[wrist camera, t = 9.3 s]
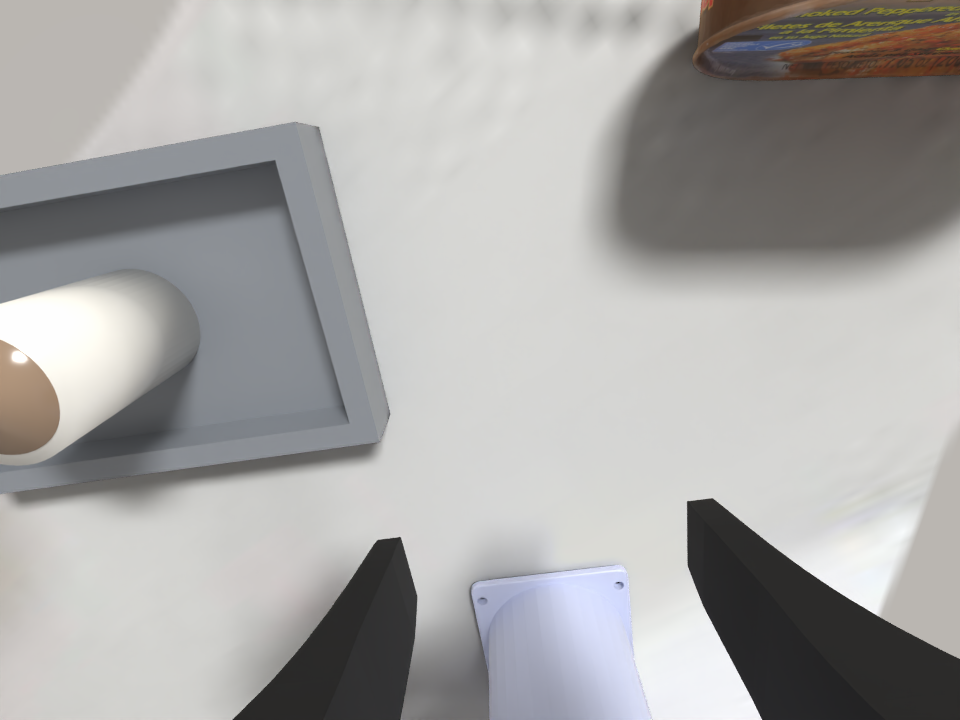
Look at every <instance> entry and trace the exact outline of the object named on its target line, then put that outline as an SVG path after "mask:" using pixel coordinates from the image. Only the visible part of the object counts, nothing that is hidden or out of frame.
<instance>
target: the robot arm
mask: <svg viewBox="0 0 960 720" xmlns="http://www.w3.org/2000/svg"><path fill="white" fill-rule="evenodd" d="M687 548H688V568H689V570H690V573H691V575H692V578H693V581H694V583H695V586H696V589H697V591H698V594H699V596H700V599H701V601H702V604H703V606H704V608H705V610H706V612H707V614H708V616H709V618H710V620H711V622H712V624H713V625H714V627H715V629H716V631H717V633H718V635H719V637H720V639H721V641H722V643H723V645H724V646H725V648H726V650H727V652H728V654H729V656H730V658H731V660H732V662H733V663H734V665H735V667H736V669H737V671H738V673H739V675H740V677H741V679H742V681H743V682H744V684H745V686H746V688H747V690H748V692H749V694H750V696H751V698H752V699H753V702H754V704H755V706H756V708H757V710H758V712H759V714H760V716H761V718H762V720H960V659H959V658H956V657H954V656H952V655H950V654H948V653H946V652H944V651H942V650H940V649H938V648H936V647H934V646H932V645H930V644H928V643H927V642H925V641H923V640H921V639H919V638H917V637H915V636H913V635H911V634H909V633H907V632H905V631H904V630H902V629H900V628H898V627H896V626H894V625H892V624H891V623H889V622H887V621H885V620H884V619H882V618H880V617H878V616H877V615H875V614H873V613H872V612H870V611H868V610H867V609H865V608H863V607H862V606H860V605H858V604H857V603H855V602H853V601H851V600H850V599H848V598H846V597H845V596H843V595H842V594H840V593H839V592H837V591H835V590H834V589H832V588H831V587H829V586H828V585H826V584H825V583H823V582H822V581H820V580H819V579H817V578H816V577H815V576H813V575H812V574H810V573H809V572H807V571H806V570H804V569H803V568H801V567H800V566H799V565H797V564H796V563H794V562H793V561H792V560H790V559H789V558H788V557H786V556H785V555H784V554H782V553H781V552H780V551H778V550H777V549H776V548H774V547H773V546H772V545H770V544H769V543H768V542H767V541H765V540H764V539H763V538H761V537H760V536H759V535H758V534H756V533H755V532H754V531H753V530H751V529H750V528H749V527H748V526H746V525H745V524H744V523H743V522H741V521H740V520H739V519H738V518H736V517H735V516H734V515H733V514H732V513H730V512H729V511H728V510H727V509H725V508H724V507H723V506H722V505H720V504H719V503H718V502H717V501H715V500H714V499H713V498H711V499H703V500H695V501H687ZM616 582H620V583H618V584H615V583H616ZM471 595H472V600H473V604H474V609H475V613H476V618H477V623H478V627H479V632H480V637H481V641H482V646H483V651H484V655H485V660H486V664H487V669H488V674H489V720H652V717H651V714H650V710H649V707H648V704H647V700H646V697H645V694H644V690H643V687H642V684H641V680H640V677H639V674H638V670H637V667H636V664H635V660H634V653H633V639H632V624H631V610H630V596H629V582H628V574H627V572H626V569H625V568H624V567H623V566H620V565H614V566H605V567H597V568H588V569H579V570H571V571H562V572H554V573H545V574H537V575H528V576H520V577H511V578H502V579H494V580H485V581H478V582H475V583H474V584H473V585H472V590H471ZM481 597H484V598H485V599H480V598H481ZM416 612H417V594H416V590H415V587H414V583H413V579H412V576H411V572H410V569H409V565H408V561H407V558H406V554H405V551H404V547H403V543H402V540H401V537H398V538H390V539H382V540H377V541H376V543H375V544H374V545H373V547H372V548H371V550H370V551H369V553H368V554H367V556H366V558H365V559H364V561H363V562H362V564H361V565H360V567H359V568H358V570H357V571H356V573H355V574H354V576H353V577H352V579H351V580H350V582H349V583H348V585H347V586H346V588H345V589H344V590H343V592H342V593H341V595H340V596H339V598H338V599H337V600H336V602H335V603H334V605H333V606H332V608H331V609H330V610H329V612H328V613H327V614H326V616H325V617H324V618H323V620H322V621H321V622H320V624H319V625H318V626H317V627H316V629H315V630H314V631H313V633H312V634H311V635H310V636H309V638H308V639H307V640H306V642H305V643H304V644H303V645H302V647H301V648H300V649H299V650H298V651H297V653H296V654H295V655H294V656H293V657H292V658H291V660H290V661H289V662H288V663H287V664H286V665H285V667H284V668H283V669H282V670H281V671H280V672H279V673H278V674H277V675H276V677H275V678H274V679H273V680H272V681H271V682H270V683H269V684H268V685H267V686H266V687H265V688H264V689H263V690H262V691H261V692H260V693H259V694H258V695H257V696H256V697H255V698H254V699H253V700H252V701H251V702H250V703H249V704H248V705H247V706H246V707H245V708H244V709H243V710H242V711H241V712H240V713H239V714H238V715H237V716H236V717H235V718H234V719H233V720H400V718H401V713H402V707H403V702H404V696H405V690H406V685H407V679H408V674H409V668H410V663H411V657H412V651H413V645H414V639H415V627H416Z"/></svg>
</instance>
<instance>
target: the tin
mask: <svg viewBox="0 0 960 720" xmlns="http://www.w3.org/2000/svg"><path fill="white" fill-rule="evenodd" d="M692 61H693V66H694V67H695V68H696V69H697V70H698V71H700V72H702V73H704V74H707V75H709V76H712V77H716V78H722V79H730V80H756V81H770V80H806V79H839V78H867V77H903V76H938V75H960V0H702V2H701V13H700V24H699V36H698V46H697V49H696V51H695V53H694V55H693V59H692Z"/></svg>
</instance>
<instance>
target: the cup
mask: <svg viewBox="0 0 960 720" xmlns="http://www.w3.org/2000/svg"><path fill="white" fill-rule="evenodd" d="M199 343H200V326H199V321H198V318H197V315H196V313H195V310H194V309H193V307H192V305H191V303H190V302H189V300H188V299H187V298H186V296H185V295H184V294H183V293H182V292H181V291H180V290H179V289H178V288H177V287H176V286H174V285H173V284H172V283H170V282H169V281H168V280H166V279H164V278H162V277H161V276H159V275H156V274H154V273H151V272H148V271H145V270H139V269H121V270H117V271H113V272H109V273H106V274H102V275H99V276H95V277H92V278H88V279H85V280H81V281H78V282H74V283H71V284H67V285H64V286H60V287H57V288H54V289H50V290H47V291H43V292H40V293H36V294H33V295H29V296H26V297H22V298H19V299H15V300H12V301H8V302H5V303H1V304H0V464H3V465H14V466H21V465H30V464H36V463H39V462H42V461H45V460H47V459H49V458H51V457H53V456H54V455H56V454H57V453H59V452H60V451H62V450H63V449H64V448H66V447H67V446H69V445H70V444H72V443H73V442H75V441H76V440H78V439H79V438H81V437H82V436H84V435H85V434H87V433H88V432H90V431H91V430H93V429H94V428H96V427H97V426H98V425H100V424H101V423H103V422H104V421H106V420H107V419H109V418H110V417H112V416H113V415H115V414H116V413H118V412H119V411H121V410H122V409H124V408H125V407H127V406H128V405H129V404H131V403H132V402H134V401H135V400H137V399H138V398H140V397H141V396H143V395H144V394H146V393H147V392H149V391H150V390H152V389H153V388H155V387H156V386H158V385H159V384H160V383H162V382H163V381H165V380H166V379H168V378H169V377H171V376H172V375H174V374H175V373H177V372H178V371H180V370H181V369H183V368H184V367H185V366H187V365H188V364H189V363H190V362H191V361H192V359H193V358H194V356H195V355H196V352H197V350H198V347H199Z"/></svg>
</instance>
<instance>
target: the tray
mask: <svg viewBox="0 0 960 720" xmlns="http://www.w3.org/2000/svg"><path fill="white" fill-rule="evenodd" d="M121 269H139V270H145V271H148V272H151V273H154V274H156V275H159V276H161V277H162V278H164V279H166V280H168V281H169V282H170V283H172V284H173V285H174V286H176V287H177V288H178V289H179V290H180V291H181V292H182V293H183V294H184V295H185V296H186V298H187V299H188V300H189V302H190V303H191V305H192V307H193V309H194V310H195V313H196V315H197V318H198V321H199V326H200V343H199V347H198V350H197V352H196V355H195V356H194V358H193V359H192V361H191V362H190V363H189V364H188V365H187V366H185V367H184V368H183V369H181V370H180V371H178V372H177V373H175V374H174V375H172V376H171V377H169V378H168V379H166V380H165V381H163V382H162V383H160V384H159V385H158V386H156V387H155V388H153V389H152V390H150V391H149V392H147V393H146V394H144V395H143V396H141V397H140V398H138V399H137V400H135V401H134V402H132V403H131V404H129V405H128V406H127V407H125V408H124V409H122V410H121V411H119V412H118V413H116V414H115V415H113V416H112V417H110V418H109V419H107V420H106V421H104V422H103V423H101V424H100V425H98V426H97V427H96V428H94V429H93V430H91V431H90V432H88V433H87V434H85V435H84V436H82V437H81V438H79V439H78V440H76V441H75V442H73V443H72V444H70V445H69V446H67V447H66V448H64V449H63V450H62V451H60V452H59V453H57V454H56V455H54V456H53V457H51V458H49V459H47V460H45V461H42V462H39V463H36V464H30V465H21V466H14V465H3V464H0V494H4V493H11V492H18V491H26V490H33V489H40V488H48V487H55V486H62V485H69V484H77V483H84V482H91V481H99V480H106V479H113V478H121V477H128V476H135V475H143V474H150V473H157V472H165V471H172V470H179V469H187V468H194V467H201V466H208V465H216V464H223V463H230V462H238V461H245V460H252V459H260V458H267V457H274V456H282V455H289V454H296V453H304V452H311V451H318V450H326V449H333V448H340V447H347V446H355V445H362V444H369V443H377V442H380V440H381V437H382V434H383V432H384V429H385V427H386V424H387V421H388V419H389V416H390V411H389V407H388V403H387V399H386V395H385V391H384V387H383V383H382V379H381V375H380V371H379V367H378V363H377V359H376V355H375V351H374V347H373V343H372V339H371V335H370V331H369V327H368V323H367V318H366V314H365V310H364V306H363V302H362V298H361V294H360V290H359V286H358V282H357V278H356V274H355V270H354V266H353V262H352V258H351V254H350V250H349V246H348V242H347V238H346V234H345V230H344V226H343V222H342V218H341V214H340V210H339V206H338V202H337V198H336V194H335V190H334V186H333V182H332V178H331V174H330V170H329V166H328V162H327V158H326V154H325V150H324V146H323V142H322V138H321V134H320V130H319V127H316V126H312V125H307V124H303V123H298V122H292V123H287V124H281V125H276V126H270V127H265V128H259V129H254V130H248V131H243V132H237V133H232V134H226V135H220V136H215V137H209V138H204V139H198V140H193V141H187V142H182V143H176V144H171V145H165V146H160V147H154V148H149V149H143V150H137V151H132V152H126V153H121V154H115V155H110V156H104V157H99V158H93V159H88V160H82V161H77V162H71V163H66V164H60V165H54V166H49V167H43V168H38V169H32V170H27V171H21V172H16V173H11V174H5V175H0V304H1V303H5V302H8V301H12V300H15V299H19V298H22V297H26V296H29V295H33V294H36V293H40V292H43V291H47V290H50V289H54V288H57V287H60V286H64V285H67V284H71V283H74V282H78V281H81V280H85V279H88V278H92V277H95V276H99V275H102V274H106V273H109V272H113V271H117V270H121Z"/></svg>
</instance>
